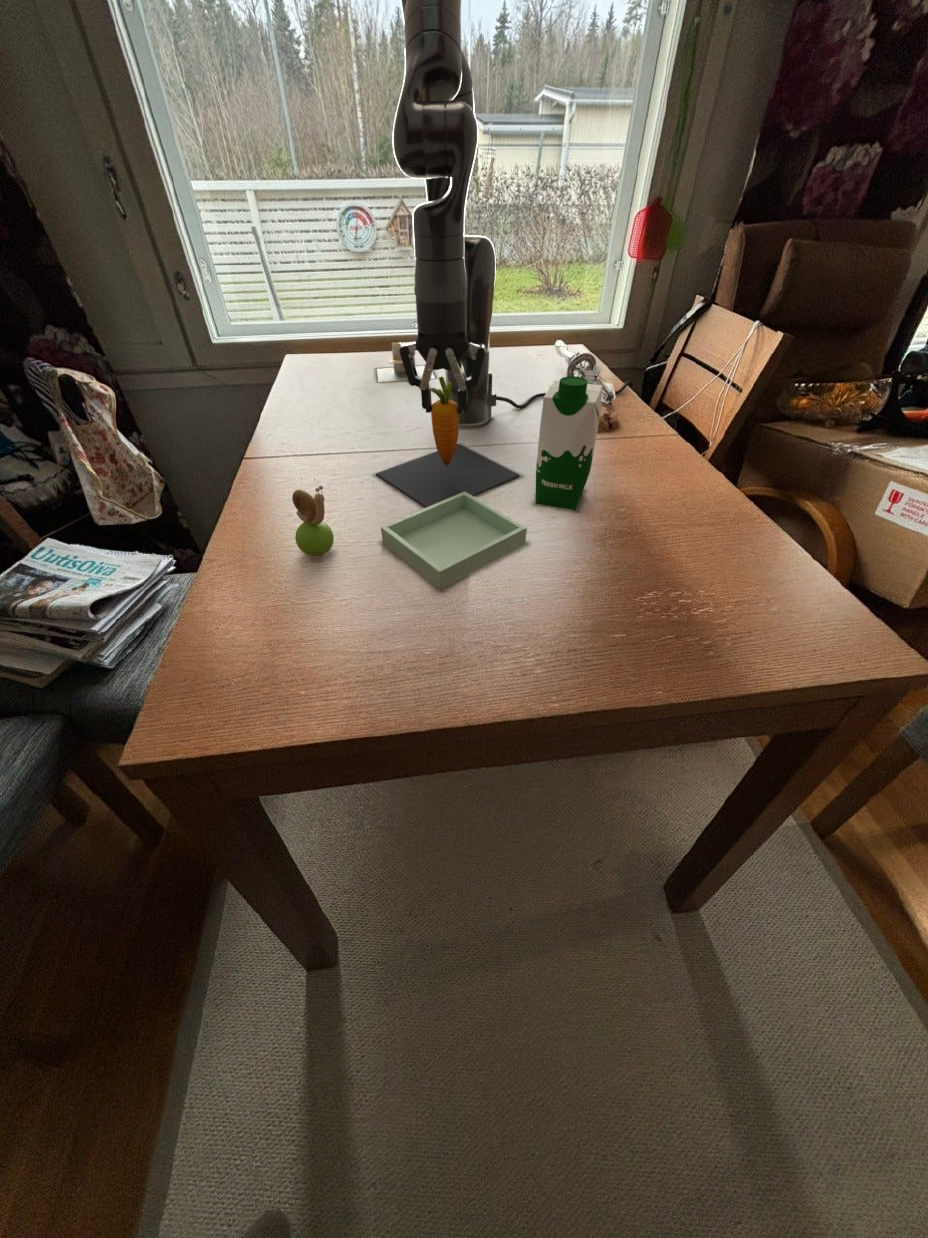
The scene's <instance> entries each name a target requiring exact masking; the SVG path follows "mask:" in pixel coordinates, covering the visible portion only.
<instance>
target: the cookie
mask: <svg viewBox="0 0 928 1238" xmlns="http://www.w3.org/2000/svg"><path fill="white" fill-rule="evenodd" d="M618 417H619V415H618V412H615V411H613V410H609V411H608V409H607V407H605V406H602V405H601V415H600V417H599V424H598V430H597V431H607V432H608V431H611V430H613V429H616V428H617V427H619V418H618Z"/></svg>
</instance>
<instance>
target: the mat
mask: <svg viewBox="0 0 928 1238" xmlns="http://www.w3.org/2000/svg"><path fill="white" fill-rule="evenodd" d="M375 476H376V477H378V478H379V479H381V480H383V481H384V482H385V483H387V484H388V485H390V486H391V487H393V488H395V489H396V490H398V491H399V492H401V493H402V494H404V495H405V496H407V497H408V498H409V499H411V500H412V501H415V503H417V504H418V505H420V506H422V507H424V508H427V507H429V506H431V505H434V504H436V503H438V502H441V501H443V500H446V499H448V498H450V497H453V496H455V495H457V494H460V493H462V492H467V493H468V494H470V495H472V496H473V497H477V496H478V495H481V494H483V493H486V492H488V491H490V490H492V489H495V488H496V487H499V486H501V485H504V484H506V483H509V482H511V481H513V480H516V479H518V478H520V474H519V473H517V472H515V471H513V470H511V469H509V468H507V467H505V466H503V465H501V464H500V463H497V462H495V461H494V460H491V459H489V458H488V457H486V456H483V455H481V454H480V453H478V452H475V451H474V450H473V449H470V448H468V447H466V446H464V445H463V444H460V443H457V446H456V451H455V453H454V456H453V458H452V460H451V462H450V464H448V465H447V466H446V465H445V464H444V463H443V461H442V460H441V458H440V455H439V453H438V450H437V451H434V452H431V453H428V454H426V455H423V456H420V457H417V458H415V459H412V460H409V461H406V462H404V463H401V464H398V465H395V466H393V467H390V468H387V469H384V470H382V471H379V472H376V473H375Z"/></svg>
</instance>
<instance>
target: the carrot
mask: <svg viewBox="0 0 928 1238" xmlns="http://www.w3.org/2000/svg"><path fill="white" fill-rule="evenodd" d="M438 380H439V381H438V382H439V384H440V387H441V389H440V388H438V389H437V388H435V387H431V393H434V394H435V395H436V396H437V397H438V400H436V401H435V402H433V403H432V405H431V412H430V415H431V417H430V418H431V427H432V434H433V439H434V443H435V448H436V450H437V451H438V453H439V455H440V458H441V460H442V461H443V463H444V464H445V465H446V466H447V465H448V464H450V462H451V460H452V458H453V456H454V453H455V451H456V446H457V444H458V442H459V441H458V440H459V433H460V427H459V412H458V406H457V404H456V402H454V401H451V400H449V397H450V393H451V388H452V383H451V382H448V386H446V379H445V378H444V376H440V377H438Z"/></svg>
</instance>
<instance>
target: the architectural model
mask: <svg viewBox="0 0 928 1238" xmlns="http://www.w3.org/2000/svg"><path fill="white" fill-rule="evenodd" d="M403 343H408V344H409V343H413V341H403V342H401V341H400V342H391V351H392V358H388V363H389V365H393V367H384V368H383V367H382V368H381V367H380V368H376V373H377V381H378V383H384V382H401V381H408V378H407V375H406V372H405V368H404V365H403V362H402V359H401V355H400V352H399V349H400V347H401V346H402V344H403ZM413 360H414V364H415V367H416V371H417V374H418V376H420V377H422V376H423V372H424V368H425V365H416V357H415V356H414V358H413ZM433 372H434V371H432V374H431V378H430V380H431V379H433V380H434V379H436V378H435V375H434V373H433Z"/></svg>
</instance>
